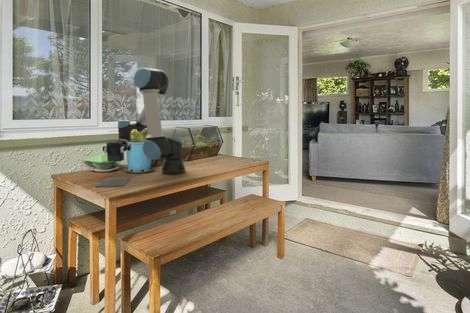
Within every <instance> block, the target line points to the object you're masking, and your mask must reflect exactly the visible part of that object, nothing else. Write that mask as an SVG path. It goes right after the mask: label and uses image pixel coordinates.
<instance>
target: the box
mask: <svg viewBox="0 0 470 313" xmlns="http://www.w3.org/2000/svg"><path fill="white" fill-rule="evenodd" d="M105 144H106V146H107V153H106V155H107V157H106V158H107V162H122V161H124V160H125V154H124V153H125V151H124V152H122V153H121V147H123V142H117V141H108V142H106V143H105Z"/></svg>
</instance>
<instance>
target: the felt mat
mask: <svg viewBox="0 0 470 313" xmlns="http://www.w3.org/2000/svg"><path fill="white" fill-rule="evenodd" d="M131 178H132V177H131V176H126V177H125V176H124V177H119V176H118V177H117V176H116V177H105V178H104V179H103V180H101V182H99V183H98V184H97V185H96V186H95V187H96V188H110V187H111V188H115V187H117V188H118V187H125V186H126V185H127V183H129V182H130V180H131Z"/></svg>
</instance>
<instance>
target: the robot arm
mask: <svg viewBox="0 0 470 313" xmlns="http://www.w3.org/2000/svg"><path fill="white" fill-rule="evenodd" d="M133 84H134V85H135V86H136V87H137V88H138V89H139V94H141V95H142V101H143V107H142V109H141V112H140V113H139V115H138V117H137V119H136V121H135V122H131V121H130V119H119V120H118V121H117V129H118V130H117V131H118V132H117V133H118V140H116V142H123V147H121V153H122V152H124V153H125V152H127V151H131V149H132V146H131V144H130V145H128V142H131V141H132V134H131V131H132V129H137V131H138V132H141V131H142V130H143V129H145V128H147V132H146V133H147V135H146V137H145V141H144V142H143V144H142V152H143V154H144V156H145V157H146V158H148V159H149V160H160V159H163V162H162V166H161V174H164V175H179V174H180V175H181V174H184V173H186V167H185V164H184V162H183V141H182V138H181V136H180V137H179V136H166V135H165V134H164V133H163V129H162V120H161V113H160V104H159V103H160V101H161V100H162V98H163V96H165V95H166V94H167V91H168V90H169V87H170V78H169V76H168V74H167V73H166V71H164V70H162V69H156V68H151V67H139V68H137V70H136V71H135V73H134V75H133ZM102 151H103V153H104V154H107V145H104V146H102Z"/></svg>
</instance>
